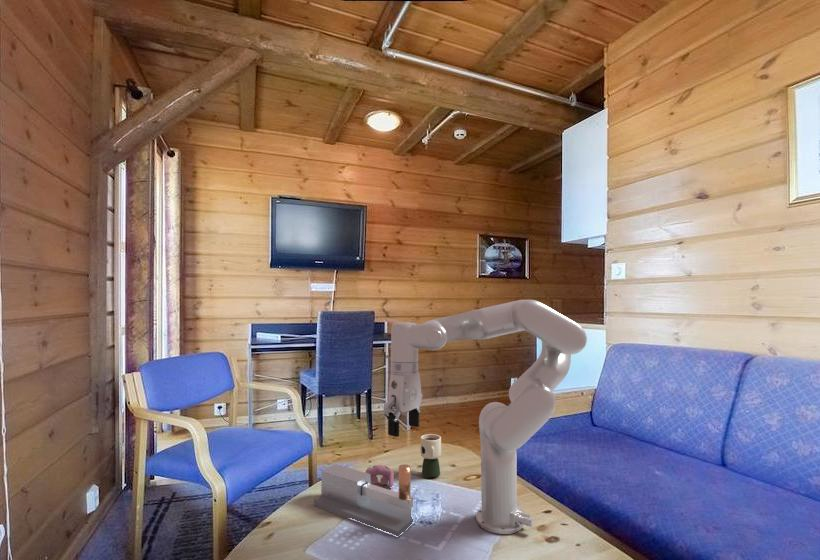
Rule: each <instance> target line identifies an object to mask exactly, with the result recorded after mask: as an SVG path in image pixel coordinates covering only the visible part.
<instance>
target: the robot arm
mask: <svg viewBox="0 0 820 560" xmlns="http://www.w3.org/2000/svg"><path fill="white" fill-rule="evenodd" d="M524 331H525V332H527V333H529V334H530V335H532V336H534V337H536V338H537V339H539V340H540V341H541V351H540V354H539V355H538V358H537V359H536V360H535V361H534V362H533V364H532V365H530V367H528V369H526V371H524V372H523V373H522V374H521V375H520V376H519V377H518V378H517V379H516V380H514V382H513V383H512V384H511V385H510V387H509V390H508V397H509V400H510V403H509V404H508V405H507V404H505V403H502V402H499V401H493V402H489V403H487V404H486V405H484V407H483V408H482V409H481V412H480V413H479V416H478V417H479V418H478V419H479V420H478V429H479V439H480V440H479V441H480V473H481V474H480V477H481V479H480V481H481V482H480V483H481V484H480V487H481V489H480V490H481V495H480V496H481V508H480V509H478V510H477V511H476V513H475V520H476V523H477V525H478V526H479V527H481V528H482V529H484V530H486V531H487V532H490V533H493V534H497V535H498V534H499V535H511V534H514V533H517V532H520V531H521V530H522V529H523V527H524V525H525V526H526V527H531V528H532V527H533V525H534V519H533V518H532V515H531V513H528V512H527V513H526V512H523V511H522V510H521V504H519V503H518V484H517V483H518V482H517V481H518V476H517V473H518V471H517V469H518V468H517V467H518V466H517V465H518V463H517V462H518V461H517V459H518V458H517V456H518V455H517V450H518V449H519V448H521V447H522V446H523V445H525V444H526V443H527V442H528V441H529V440H530V439H531V438H532V437H533V436H534V435H535V434H536V433H537V432H538V431H539V430H540V429H541V428H542V427H543V426H544V425H546V423H547V422H548V421H549V420H550V419H551V417H552V416H553V414H554V412H555V409H556V407H557V406H556V403H557V400H556V396H555V394H554V390H555V389H556V388H558V387H559V385H560V384H561V383H562V382H563V381H564V379H565V378H566V377H567V375H568V373H569V370H570V367H571V362H572V361H571V360H572V359H571V358H572V355H576V354H579V353H580V352H582V351H583V349H585V348H586V345H587V341H588V340H587V339H588V338H587V337H588V336H587V333H586V331H585V330H584V328H583V327H582V326H581V325H580V324H579V323H577V322H576V321H574V320H572V319H570V318H569V317H567V316H566V315H563V314H561V313H559V312H558V311H557V310H555V309H553V308H552V307H549V306H548V305H546V304H544V303H543V302H540V301H538V300H535V299H518V300H514V301H510V302H509V301H508V302H504V303H500V304H496V305H491V306H486V307H482V308H478V309H473V310H469V311H466V312H463V313H458V314H453V315H448V316H444V317H443V316H442V317H438V318H434V319H430V320H427V321H424V322H423V323H415V322H410V321H406V322H405V321H400V322H398V321H397V322H394V323H393V324H392V325H391V330H390V333H391V334H390V336H391V337H390V344H391V345H390V347H391V348H390V378H389V382H388V383H389V384H388V385H389V386H388V395H387V396H388V400H387V402H386V403H385V404H384V405H383V408H382V409H383V411H384V416H385V417H386V420H387V423H388V424H387V428H388V429H387V435H389V436H392V437H396V438H397V437H399V436H400V421H399V418H400V415H401V413H402V414H405V413H408V426H409V427H415V428H419V426H420V412H421V406H422V404H423V402H422V401H423V396H424V393H423V392H422V383H421V382H422V381H421V375H420V372H419V349H420V350H426V351H438V350H440V349H442V348H443V347H444V346H445V345H446V343H450V342H455V341H462V340H477V341H478V340H487V339H488V340H489V339H492V338H496V337H500V336H504V335H509V334H514V333H518V332H524Z"/></svg>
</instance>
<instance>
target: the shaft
mask: <svg viewBox="0 0 820 560" xmlns="http://www.w3.org/2000/svg"><path fill="white" fill-rule="evenodd" d="M411 492H412V491H411V465H409V464H400V465H399V466H398V491H394V490H392V489H388V488H384V487H382V486H378V485H376V484H372V483H371V484H369V483H364V484H362V485H361V495H364V496H367V497H370V498H373V499H376V500H379V501H382V502H385V503H388V504H391V505H394V506H397V507H400V508H403V509H406V510H409V509H411V508H412V507H413V508H414V497H413V496H411Z"/></svg>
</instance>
